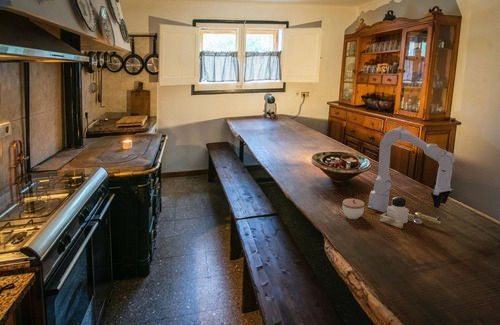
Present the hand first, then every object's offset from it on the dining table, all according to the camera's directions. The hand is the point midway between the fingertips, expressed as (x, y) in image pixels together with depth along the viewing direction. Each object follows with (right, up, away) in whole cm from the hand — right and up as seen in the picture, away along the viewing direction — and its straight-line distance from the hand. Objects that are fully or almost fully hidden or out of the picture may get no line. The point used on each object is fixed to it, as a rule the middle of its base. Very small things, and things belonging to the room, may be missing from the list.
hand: (439, 205), depth 165 cm
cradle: (-18, -8, +6) cm, 21 cm away
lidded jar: (-38, -7, +11) cm, 41 cm away
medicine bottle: (-18, -9, +6) cm, 21 cm away
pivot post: (-9, -9, +5) cm, 13 cm away
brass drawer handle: (-6, -7, +1) cm, 9 cm away
